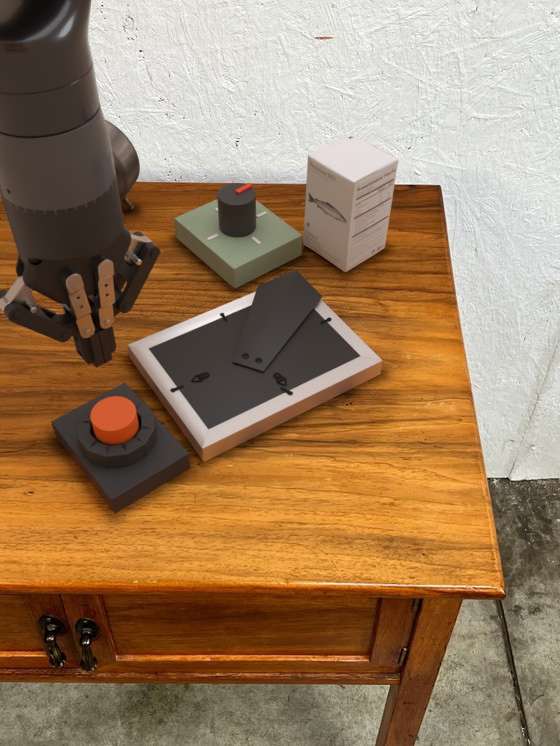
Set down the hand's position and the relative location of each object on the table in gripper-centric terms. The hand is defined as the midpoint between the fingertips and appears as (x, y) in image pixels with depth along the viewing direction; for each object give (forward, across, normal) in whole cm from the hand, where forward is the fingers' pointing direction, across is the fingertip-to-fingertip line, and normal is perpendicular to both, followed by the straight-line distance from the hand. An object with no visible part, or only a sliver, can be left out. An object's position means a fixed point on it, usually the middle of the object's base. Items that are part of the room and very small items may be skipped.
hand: (99, 357), depth 63 cm
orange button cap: (+9, 0, 0) cm, 9 cm away
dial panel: (+13, +27, +18) cm, 35 cm away
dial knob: (+10, +27, +18) cm, 34 cm away
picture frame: (+13, +17, +1) cm, 21 cm away
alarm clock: (+13, +18, +35) cm, 41 cm away
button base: (+13, 0, 0) cm, 13 cm away
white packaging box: (+13, +37, +10) cm, 41 cm away
